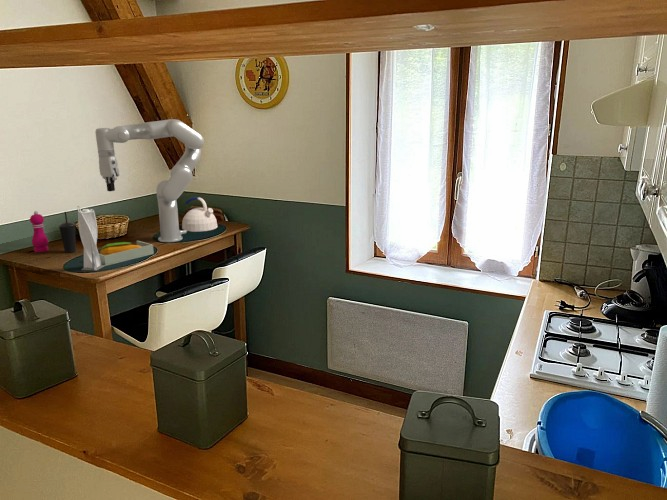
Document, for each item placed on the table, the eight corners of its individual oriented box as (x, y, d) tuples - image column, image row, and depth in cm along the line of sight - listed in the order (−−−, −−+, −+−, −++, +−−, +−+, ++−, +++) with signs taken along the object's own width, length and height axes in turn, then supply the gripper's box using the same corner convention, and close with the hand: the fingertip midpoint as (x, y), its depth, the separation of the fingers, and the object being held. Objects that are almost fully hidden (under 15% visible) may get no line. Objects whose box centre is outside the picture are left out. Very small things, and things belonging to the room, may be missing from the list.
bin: (138, 249, 279) (137, 240, 278) (153, 253, 272) (153, 244, 271) (90, 260, 260) (89, 251, 259) (105, 265, 253) (104, 256, 251)
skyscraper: (78, 269, 247) (70, 207, 239) (89, 264, 255) (81, 204, 247) (95, 270, 246) (88, 208, 238) (106, 265, 253) (99, 204, 246)
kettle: (200, 233, 312) (198, 201, 307) (174, 229, 322) (172, 198, 318) (225, 226, 328) (223, 196, 323) (199, 222, 339) (197, 193, 334)
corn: (99, 241, 264) (143, 238, 271) (100, 256, 267) (144, 252, 273) (98, 246, 258) (144, 242, 264) (100, 261, 260) (145, 257, 267)
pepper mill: (41, 253, 272) (35, 213, 267) (29, 251, 275) (23, 212, 269) (52, 249, 279) (47, 210, 273) (41, 248, 281) (36, 209, 276)
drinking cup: (76, 253, 272) (71, 213, 267) (59, 254, 271) (54, 213, 265) (80, 249, 279) (75, 210, 274) (64, 249, 278) (59, 210, 273)
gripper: (122, 153, 272) (126, 191, 277) (104, 152, 280) (109, 188, 286) (108, 155, 266) (113, 193, 271) (90, 153, 275) (95, 190, 280)
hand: (111, 190), depth 278 cm, fingers closed
